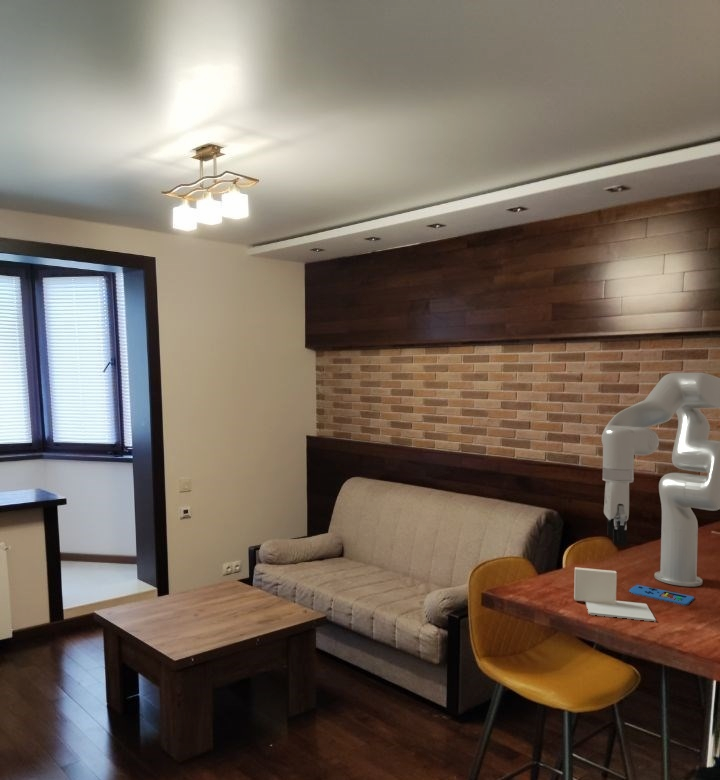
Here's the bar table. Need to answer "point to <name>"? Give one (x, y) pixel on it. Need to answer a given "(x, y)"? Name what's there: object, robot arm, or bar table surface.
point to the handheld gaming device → (661, 594)
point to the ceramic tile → (595, 585)
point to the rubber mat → (621, 610)
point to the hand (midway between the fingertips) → (616, 540)
